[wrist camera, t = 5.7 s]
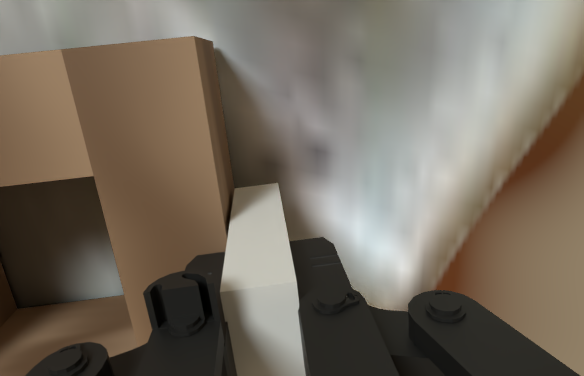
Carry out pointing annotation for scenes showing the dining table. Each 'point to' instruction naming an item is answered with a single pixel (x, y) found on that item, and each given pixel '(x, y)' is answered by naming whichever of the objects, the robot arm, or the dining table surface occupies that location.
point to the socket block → (117, 175)
